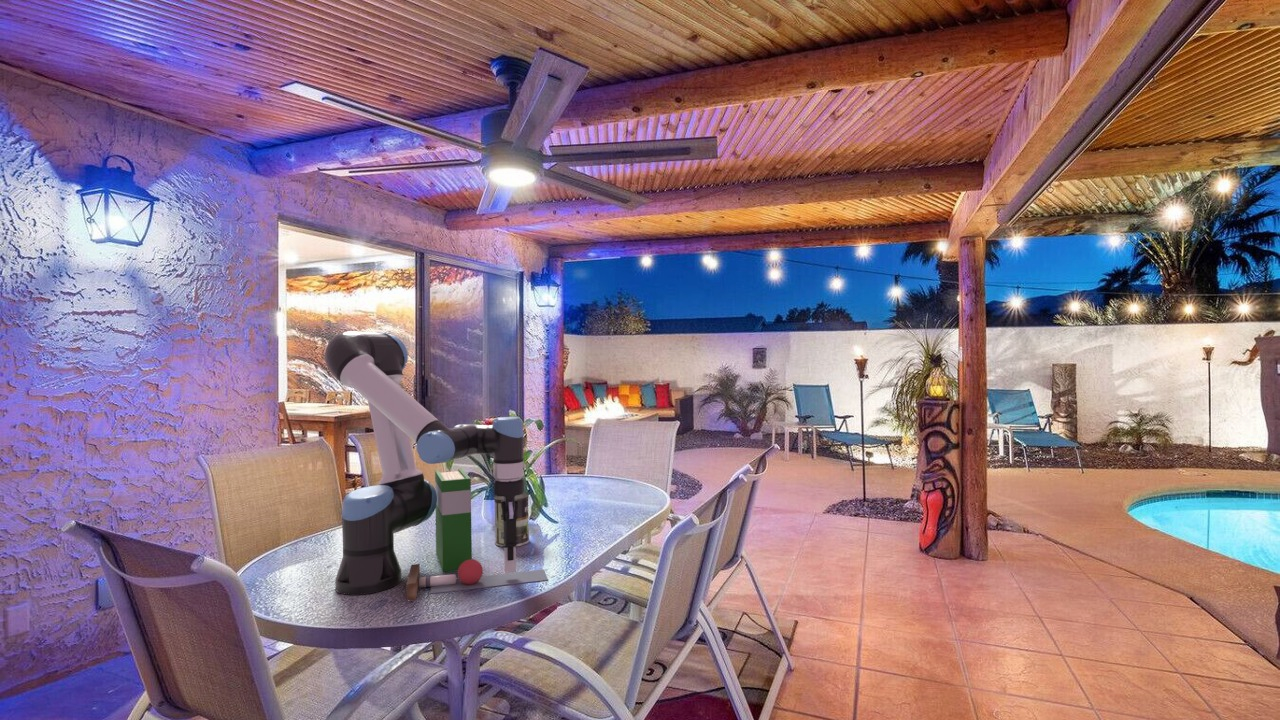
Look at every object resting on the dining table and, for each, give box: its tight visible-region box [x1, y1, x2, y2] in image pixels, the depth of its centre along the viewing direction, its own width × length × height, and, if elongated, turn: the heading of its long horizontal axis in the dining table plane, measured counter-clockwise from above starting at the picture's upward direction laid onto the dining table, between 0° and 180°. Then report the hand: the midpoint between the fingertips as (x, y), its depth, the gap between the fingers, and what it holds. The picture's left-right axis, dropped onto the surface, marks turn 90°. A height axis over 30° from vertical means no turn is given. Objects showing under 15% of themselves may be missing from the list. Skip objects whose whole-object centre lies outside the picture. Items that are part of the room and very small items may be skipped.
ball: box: [457, 558, 484, 585], centre depth 151 cm, size 6×6×6 cm
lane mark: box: [430, 569, 549, 595], centre depth 153 cm, size 28×8×1 cm, turn 106°
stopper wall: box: [406, 563, 421, 602], centre depth 148 cm, size 2×14×4 cm, turn 16°
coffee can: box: [493, 492, 530, 548], centre depth 186 cm, size 10×10×14 cm
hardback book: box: [434, 468, 473, 573], centre depth 170 cm, size 18×7×24 cm, turn 24°
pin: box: [418, 573, 457, 589], centre depth 150 cm, size 2×2×8 cm
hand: (510, 571), depth 154 cm, fingers closed
